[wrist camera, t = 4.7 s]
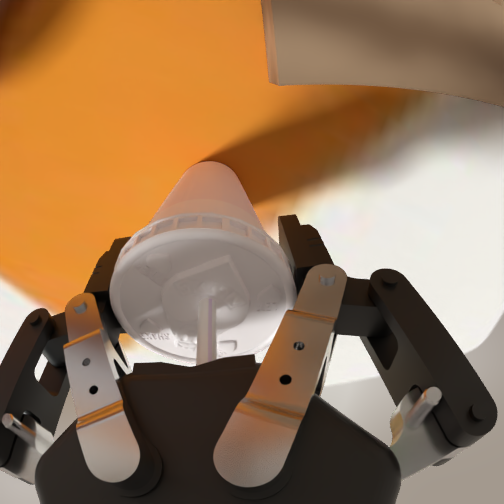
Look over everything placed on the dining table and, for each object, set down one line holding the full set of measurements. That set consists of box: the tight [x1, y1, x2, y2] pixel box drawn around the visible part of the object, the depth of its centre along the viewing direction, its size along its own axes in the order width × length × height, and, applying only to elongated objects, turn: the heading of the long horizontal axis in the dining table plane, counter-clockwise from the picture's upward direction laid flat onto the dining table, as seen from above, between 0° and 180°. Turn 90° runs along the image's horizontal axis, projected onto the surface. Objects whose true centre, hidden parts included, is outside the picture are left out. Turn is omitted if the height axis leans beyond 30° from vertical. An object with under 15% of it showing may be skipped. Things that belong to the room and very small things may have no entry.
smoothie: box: [109, 161, 297, 366], centre depth 12 cm, size 6×6×14 cm
